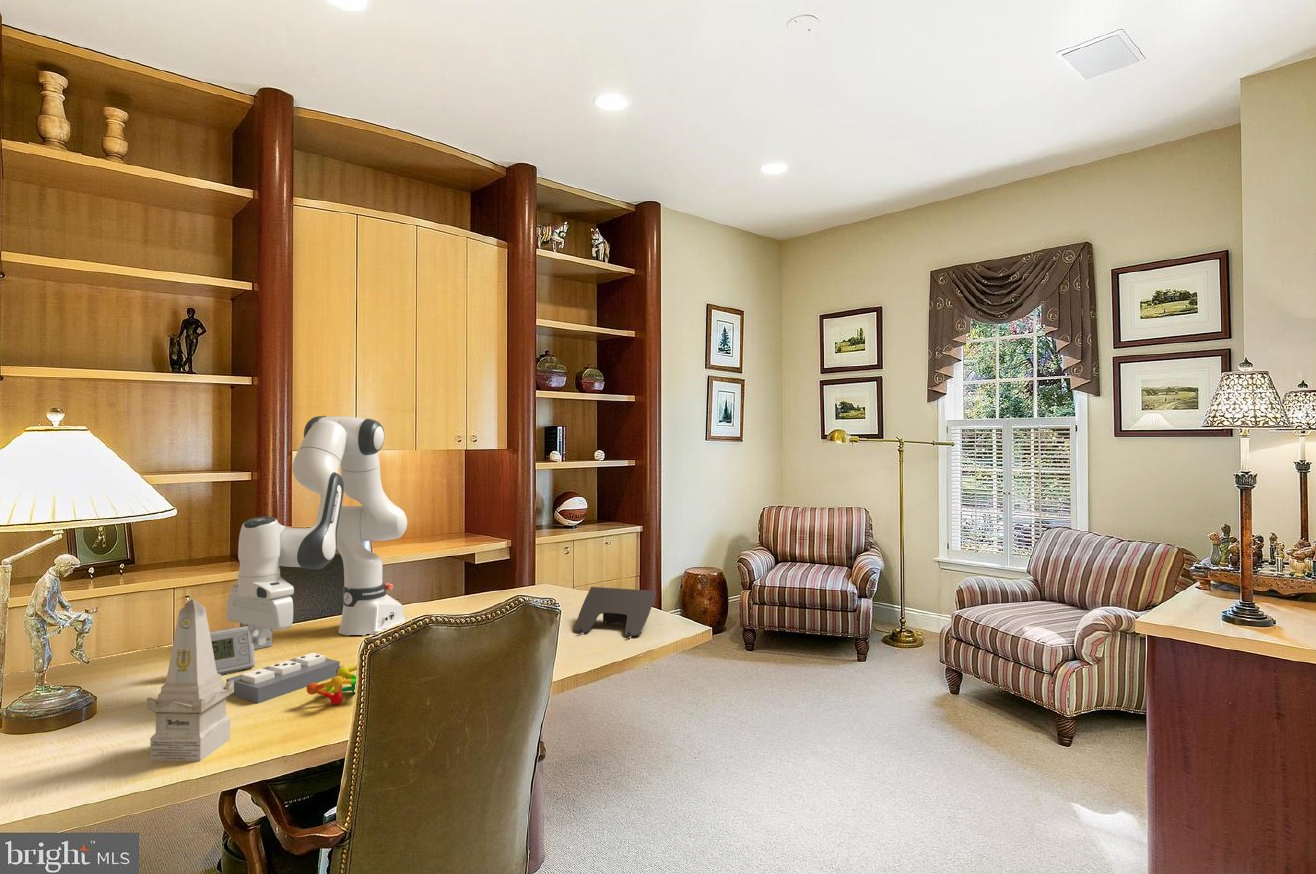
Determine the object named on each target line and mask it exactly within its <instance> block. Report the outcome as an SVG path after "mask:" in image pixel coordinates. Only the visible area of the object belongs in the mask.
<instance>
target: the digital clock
mask: <svg viewBox="0 0 1316 874" xmlns="http://www.w3.org/2000/svg"><path fill="white" fill-rule="evenodd" d="M210 636H211V642H212V648H213V653H214V659H215V665H216V670H217V673H218V674H220V675H221V676H224V675H228V674H227V673H229V674H233V673H232V672H234V673H237V672H236V671H239V672H241V671H245V670H249V669H253V668H254V667H255V666H256V658H255V649H254V646H253V644H252V643H251V636H250V633H249V631H248V626H246V627H240V626H239V627H236V628H234V627H231V628H226V629H220V630H212V631H210Z"/></svg>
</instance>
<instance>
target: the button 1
mask: <svg viewBox="0 0 1316 874" xmlns="http://www.w3.org/2000/svg"><path fill="white" fill-rule="evenodd" d="M262 668H263V667H260V668H258V669H255V670H251V671H248V672H245V673H241V675H242V681H244V682H247V683H251V684H257V683H260V682H263V681H266V680H269V679H273V678H275V672H274V671H270V670H266V669H262Z"/></svg>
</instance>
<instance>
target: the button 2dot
mask: <svg viewBox="0 0 1316 874" xmlns="http://www.w3.org/2000/svg"><path fill="white" fill-rule="evenodd" d="M325 658H326V655H325V654H320V653H317V652H316V653H315V652H310V653H307V654H303V655H301V656H297V657H295V662H297V663H301V666H305V667H310V666H313V665H316V664H319V663H322V662H325Z"/></svg>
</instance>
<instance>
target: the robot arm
mask: <svg viewBox="0 0 1316 874" xmlns="http://www.w3.org/2000/svg"><path fill="white" fill-rule="evenodd" d="M301 441H302V442H301V443H300V445H299V447H298V449H297V452H296V454H295V456H294V458H293V462H292V474H293V476H294V478H295V479H296V481H297V483H299V484H300V485H301V486H302V487H304V488H305V489H307V490H309V491H311V492H314V493H316V494H318V495H319V496H320V500H319V506H318V510H317V516H316V521H315V524H313V526H311V527H308V528H306V527H305V528H303V527H301V528H300V527H289V526H285V525H282V524H281V523H279V521H278V519H277V518H276V517H273V516H259V517H253V518H250V519H247V520H246V521H244V522H243V523H242V525H241V526H240V527H241V528H240V531H239V535H238V536H239V537H238V549H237V550H238V551H237V554H238V555H237V557H238V560H239V569H238V572H237V582H234V584H233V585H232V586H231V587H230V592H229V594H228V595H227V596H228V597H227V601H226V602H227V604H226V618H227V620H228V622H233V623H238V624H240V623H242V624H247V625H248V631H249V633H250V636H251V643H252V644H257V645H263V644H265V643H266V636H267V634H268V631H269V629H271V630H272V631H276V632H279V631H283V630H287V629H288V630H289V629H290V628H291V626H292V625H293V621H294V602H293V598H292V595H294V593H295V588H294V586H293V585H292V584H290V583H289V582H287V581H286V580H285V579H284V578H283V577H282V576H281V569H280V567H290V568H291V567H292V568H303V569H311V570H321V569H323V568H325V567H326V566H327V565H329V564H330V563H331V562H332V561H333V559H334V558H335V556H336V553H337V551H338V552H339V554H340V556H341V559H342V563H343V576H344V578H343V579H344V585H343V586H342V602H343V604H342V605H343V607H342V614H341V619H340V624H339V627H338V630H337V632H338V633H339V634H340V635H344V636H349V635H362V636H367V635H366V634H370V635H371V636H372V635H373V636H374V635H377V634H376V633H378V632H381V631H384V630H387V629H388V628H390V627H392V626H395V625H397V624H400V623H403V622H405V621H407V620H410V619H411V617H408V616H405V613H404V612H405V611H404V607H403V605H402V603H401V602H399V601H398V600H396V599H394V598H393V597H392V596H390V595H389V594H388V593H387V591H388V590H389V591H392V590H393V589H394V584H392V583H388V582H387V583H386V584H385V583H384V582H383V560H382V559H381V557H380V556H379V555H377V554H376V553H375V552H373V551H370V550H368V549H367V548H366V547H365V546H364V544H363V542H386V541H391V540H396V539H400V538H402V536H403V535H404V534H405V532H406V530H407V528H408V517H407V515H406V513H405V511H404V510H403V509H402V508H401V507H399V506H397V505H396V504H395V503H393V502H392V501H391V499H389V498H388V496H387V494H386V492H385V491H384V488H383V484H382V478H381V469H380V466H381V464H380V456H379V451H380V450H382V447H383V446H384V442H385V429H384V427H383V425H382V424H381V423H380V421H378V420H375V419H372V418H363V417H362V418H361V417H357V416H348V415H345V416H341V415H340V416H336V415H335V416H331V415H330V416H326V415H319V416H314V417H312V418H310V419H309V420H308V421H307V422H306V424H305V426H304V429H303V440H301ZM339 469H340V470H339ZM339 471H340V474H339ZM344 494H345V496H346V495H347V497H349V498H350V499H352V500H355V501H356V502H358V503H359V504H360V505H354V506H353V505H349V506H348V505H343V502H344V501H343V499H344ZM406 618H408V619H406ZM370 635H369V636H370Z"/></svg>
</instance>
